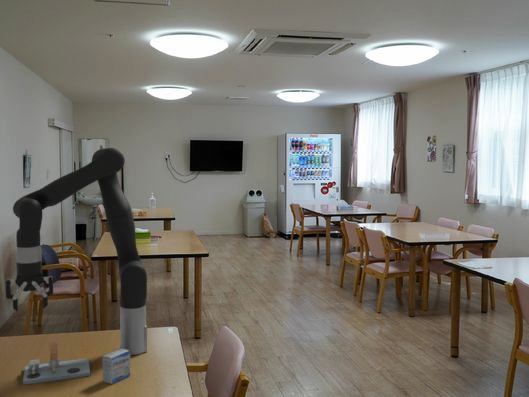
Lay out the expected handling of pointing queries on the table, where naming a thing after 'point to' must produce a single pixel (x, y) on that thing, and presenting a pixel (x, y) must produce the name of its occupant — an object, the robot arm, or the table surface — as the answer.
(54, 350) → the sliding leg
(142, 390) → the table surface
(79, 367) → the bolt plate
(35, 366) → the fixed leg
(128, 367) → the medicine box
